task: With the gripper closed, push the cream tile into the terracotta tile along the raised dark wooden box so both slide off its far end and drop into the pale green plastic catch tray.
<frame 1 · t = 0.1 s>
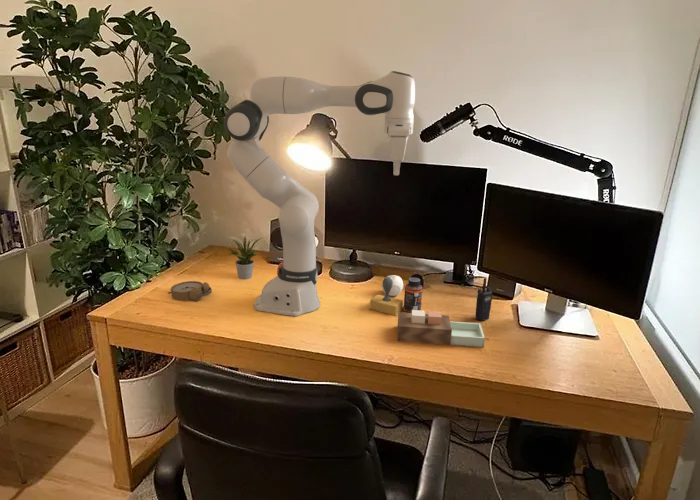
hand: (396, 172, 169), 48 cm above the table, fingers open, 8 cm apart
two-way radio: (480, 318, 181), on the table
house plant: (247, 276, 211), on the table
rubber stamp: (385, 310, 186), on the table
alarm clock: (192, 296, 192), on the table
supplement bottle: (412, 310, 186), on the table
catch tray: (465, 338, 167), on the table
dark wooden box: (423, 335, 168), on the table
terracotta tile: (434, 321, 166), point 5 cm above the table, touching dark wooden box
cream tile: (417, 320, 167), point 5 cm above the table, touching dark wooden box
motion sensor: (392, 295, 198), on the table
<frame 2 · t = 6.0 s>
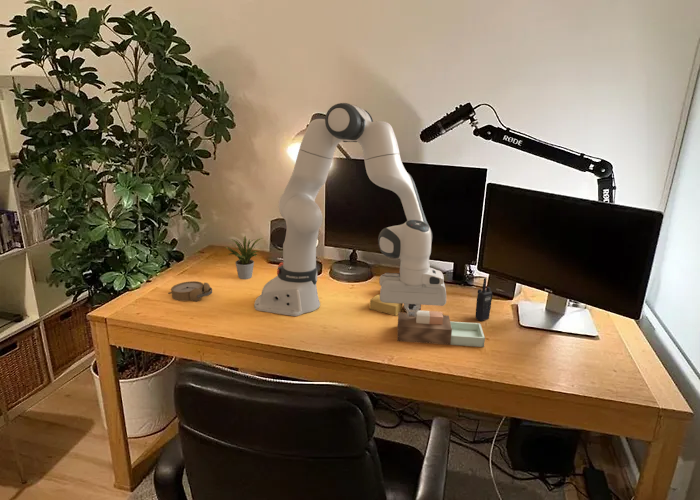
hand: (411, 316, 167), 6 cm above the table, fingers closed
terracotta tile: (435, 321, 166), point 5 cm above the table, touching cream tile
cream tile: (422, 320, 167), point 5 cm above the table, touching gripper, terracotta tile
everything else where it was.
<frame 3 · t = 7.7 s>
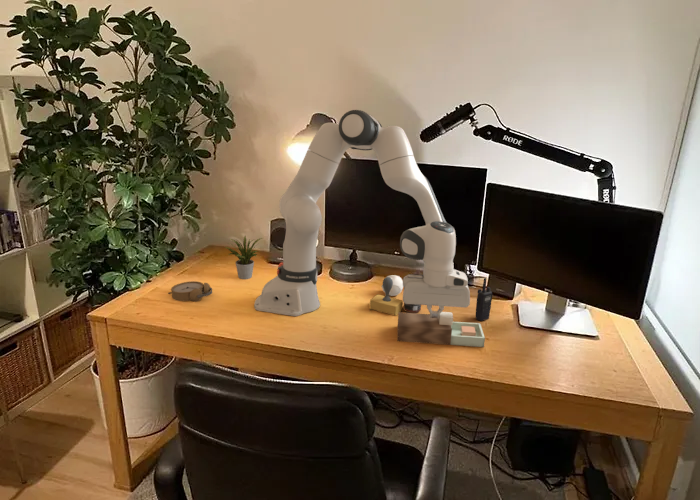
hand: (434, 317, 166), 6 cm above the table, fingers closed
terracotta tile: (468, 329, 166), point 3 cm above the table, tilted 180°, touching catch tray
cream tile: (445, 322, 166), point 5 cm above the table, touching gripper
everything else where it was.
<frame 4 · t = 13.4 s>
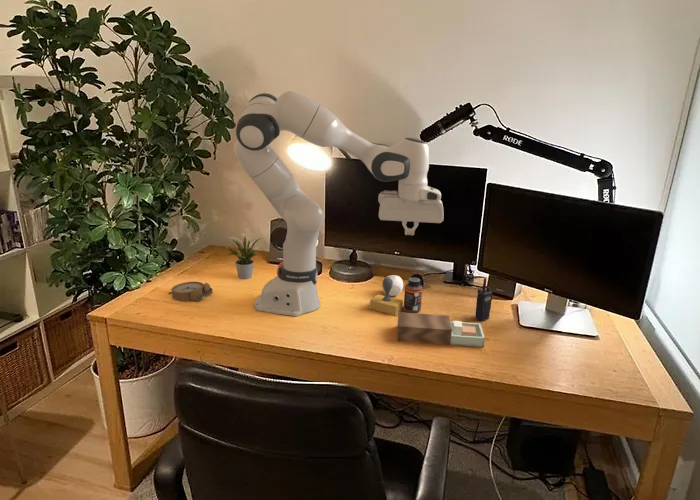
hand: (409, 234, 170), 29 cm above the table, fingers closed
cream tile: (453, 329, 167), point 3 cm above the table, tilted 90°, touching catch tray
everything else where it was.
at the end: terracotta tile inside the target area on the catch tray (0.9 cm from its centre), point 3.1 cm above the catch tray's base; cream tile inside the target area on the catch tray (3.9 cm from its centre), point 2.6 cm above the catch tray's base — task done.
